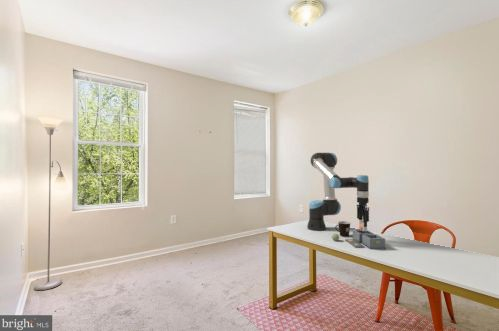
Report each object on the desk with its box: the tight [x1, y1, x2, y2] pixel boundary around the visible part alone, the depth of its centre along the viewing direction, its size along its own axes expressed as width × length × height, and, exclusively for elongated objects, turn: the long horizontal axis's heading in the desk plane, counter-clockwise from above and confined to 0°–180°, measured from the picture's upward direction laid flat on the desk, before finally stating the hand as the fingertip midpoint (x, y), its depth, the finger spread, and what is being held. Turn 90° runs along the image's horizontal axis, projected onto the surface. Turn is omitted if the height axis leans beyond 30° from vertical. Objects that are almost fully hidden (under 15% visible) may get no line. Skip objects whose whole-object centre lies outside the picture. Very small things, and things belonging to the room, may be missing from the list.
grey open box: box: [361, 233, 386, 250], centre depth 167 cm, size 10×10×6 cm
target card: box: [344, 238, 366, 249], centre depth 172 cm, size 16×6×1 cm, turn 3°
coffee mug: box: [335, 220, 351, 238], centre depth 192 cm, size 12×9×10 cm
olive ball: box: [331, 233, 340, 241], centre depth 180 cm, size 5×5×5 cm
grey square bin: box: [352, 229, 375, 244], centre depth 179 cm, size 10×10×6 cm
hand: (362, 229), depth 179 cm, fingers closed on rust ball, 5 cm apart
